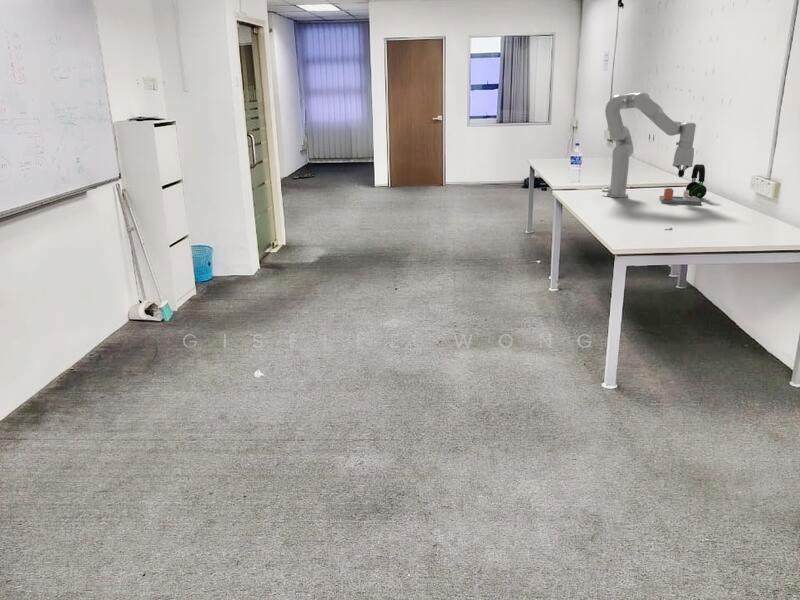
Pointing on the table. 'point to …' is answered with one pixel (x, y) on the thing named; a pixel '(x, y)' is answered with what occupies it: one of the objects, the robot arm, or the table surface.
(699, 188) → the headphones
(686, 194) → the block
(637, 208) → the table surface
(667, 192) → the cap
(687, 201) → the panel
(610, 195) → the robot arm
